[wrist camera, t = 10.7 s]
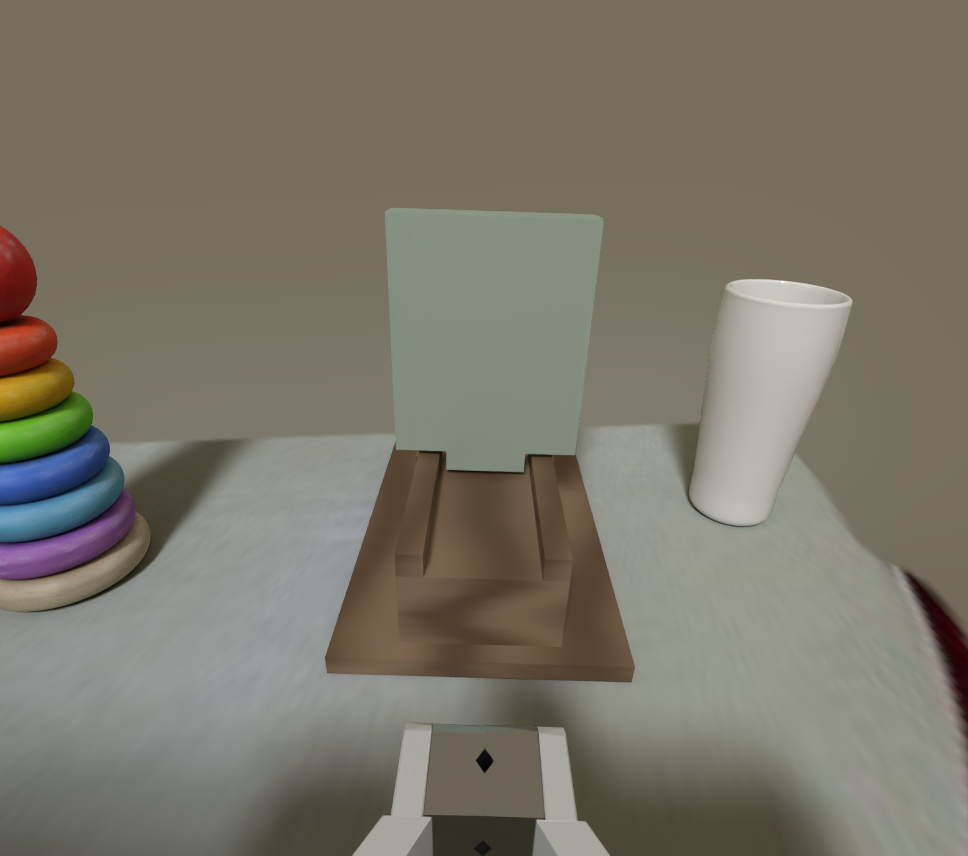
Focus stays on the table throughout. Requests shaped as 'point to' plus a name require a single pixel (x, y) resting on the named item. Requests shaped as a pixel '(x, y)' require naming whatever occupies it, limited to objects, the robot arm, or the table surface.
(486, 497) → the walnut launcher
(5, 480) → the stacking toy
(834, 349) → the drinking glass
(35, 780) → the table surface
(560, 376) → the pale green panel
